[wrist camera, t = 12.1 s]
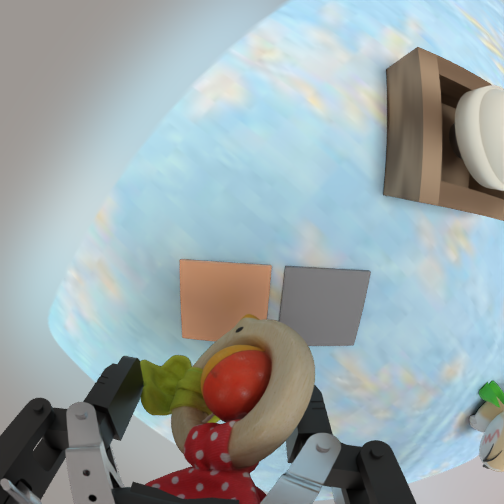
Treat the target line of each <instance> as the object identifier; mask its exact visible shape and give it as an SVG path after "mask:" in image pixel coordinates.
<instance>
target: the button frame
mask: <svg viewBox="0 0 504 504" xmlns="http://www.w3.org/2000/svg"><path fill="white" fill-rule="evenodd" d="M386 75H387V151H386V168H385V181H384V192H383V195H386V196H391V197H397V198H402V199H407V200H412V201H416V202H421V203H427V204H432V205H437V206H442V207H447V208H452V209H456V210H461V211H466V212H470V213H474V214H479V215H483V216H487V217H491V218H495V219H499V220H503V221H504V191H502V190H496V189H490V188H486V187H484V186H482V185H480V184H479V183H478V182H477V181H476V180H475V179H474V178H473V177H472V175H471V174H470V173H469V171H468V169H467V167H466V166H465V164H464V161H463V160H462V159H460V158H459V157H457V156H456V154H455V153H454V151H453V150H452V147H451V144H450V140H449V131H450V128H451V126H452V125H453V124H454V123H455V112H456V107H457V104H458V102H459V100H460V98H461V97H462V96H463V95H464V94H465V93H466V92H469V91H471V90H475V89H478V88H482V87H486V86H489V85H491V84H490V83H488V82H487V81H485V80H483V79H482V78H480V77H478V76H477V75H475V74H473V73H471V72H469V71H468V70H466V69H464V68H462V67H460V66H458V65H456V64H454V63H452V62H450V61H448V60H446V59H444V58H442V57H440V56H438V55H436V54H433V53H431V52H429V51H426V50H424V49H422V48H419V47H417V48H415V49H414V50H413V51H411V52H410V53H408V54H407V55H405V56H404V57H403V58H401V59H400V60H399V61H397V62H396V63H394V64H393V65H392V66H390V67H389V68H388V69H386Z"/></svg>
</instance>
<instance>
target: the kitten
mask: <svg viewBox="0 0 504 504" xmlns="http://www.w3.org/2000/svg"><path fill="white" fill-rule="evenodd" d="M479 395H480V397H481V398H482V399H483V400H485V401H486V402H485V403H484V404H483V405H482V406H481V407H480V408H479V410H478V411H477V413H476V414H475V415H472V416H470V418H469V420H470V425H471V427H472V428H474V429H475V430H477V431H480V432H485V433H484V435H483V437H482V440H481V443H480V449H479V456H480V459H481V461H482V462H483V463H484V465H483V467H485V468H488V469H491V470H493V471H498V472H503V471H504V393H503V391H502V390H501V389H500V387H499V386H498V385H497V384H496V383H495V382H494V381H491V383H490V384H488V382H487V383H486V384H485V385H484V387H483V388H482V389H480V390H479Z"/></svg>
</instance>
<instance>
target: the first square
mask: <svg viewBox="0 0 504 504" xmlns="http://www.w3.org/2000/svg"><path fill="white" fill-rule="evenodd" d="M370 273H371V272H370V271H367V270H348V269H329V268H312V267H295V266H285V275H284V285H283V294H282V302H281V311H280V319H279V322H281V323H284V324H286V325H287V326H289V327H290V328H292V329H293V330H294V331H296V332H297V333H298V334H299V335H300V336H301V337H302V338H303V339H304V340H305V342H306V343H307V345H308V346H349V345H354V342H355V339H356V335H357V331H358V327H359V323H360V319H361V315H362V311H363V307H364V302H365V298H366V293H367V288H368V283H369V278H370Z"/></svg>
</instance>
